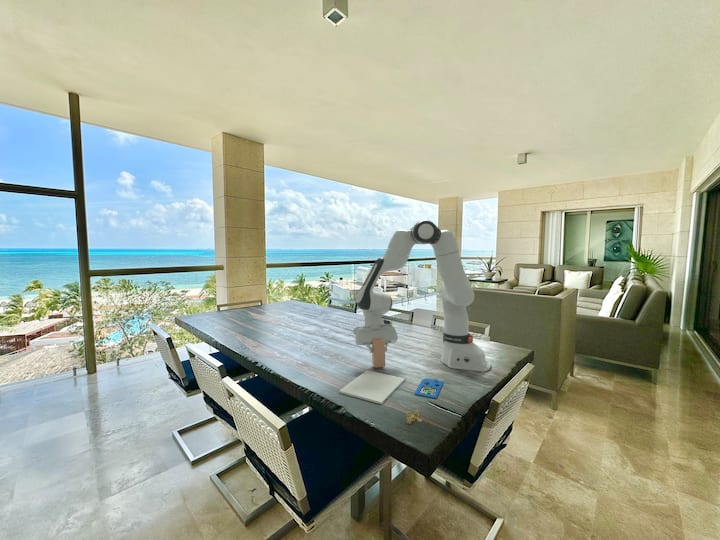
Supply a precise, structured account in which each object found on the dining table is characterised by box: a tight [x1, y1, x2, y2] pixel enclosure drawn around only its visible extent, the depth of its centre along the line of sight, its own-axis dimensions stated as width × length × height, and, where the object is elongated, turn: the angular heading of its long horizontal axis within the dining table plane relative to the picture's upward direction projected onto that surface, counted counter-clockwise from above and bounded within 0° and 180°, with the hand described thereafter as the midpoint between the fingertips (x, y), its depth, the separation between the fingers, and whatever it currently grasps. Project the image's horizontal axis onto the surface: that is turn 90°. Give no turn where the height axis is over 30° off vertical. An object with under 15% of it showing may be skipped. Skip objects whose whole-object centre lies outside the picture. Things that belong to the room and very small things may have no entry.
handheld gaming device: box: [413, 378, 444, 400], centre depth 115 cm, size 8×1×15 cm
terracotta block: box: [371, 338, 386, 368], centre depth 136 cm, size 5×5×12 cm
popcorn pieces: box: [406, 410, 423, 425], centre depth 94 cm, size 5×5×2 cm
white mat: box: [338, 370, 406, 405], centre depth 117 cm, size 18×22×1 cm
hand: (378, 351), depth 135 cm, fingers closed on terracotta block, 5 cm apart
